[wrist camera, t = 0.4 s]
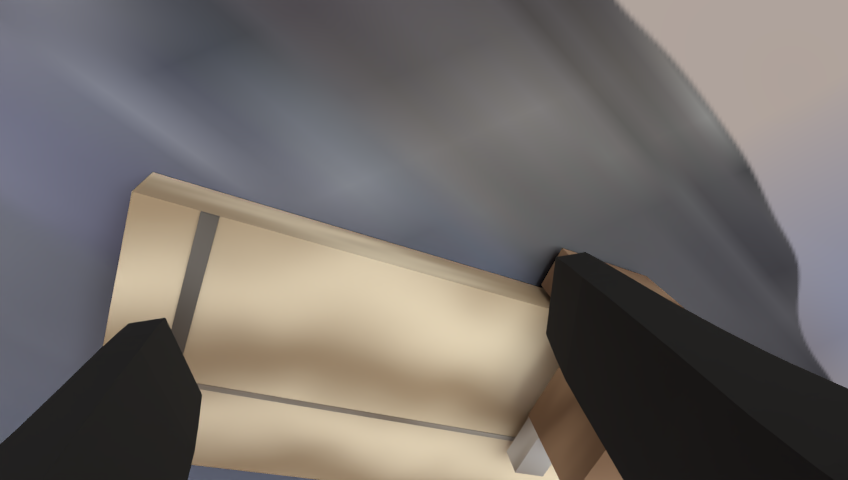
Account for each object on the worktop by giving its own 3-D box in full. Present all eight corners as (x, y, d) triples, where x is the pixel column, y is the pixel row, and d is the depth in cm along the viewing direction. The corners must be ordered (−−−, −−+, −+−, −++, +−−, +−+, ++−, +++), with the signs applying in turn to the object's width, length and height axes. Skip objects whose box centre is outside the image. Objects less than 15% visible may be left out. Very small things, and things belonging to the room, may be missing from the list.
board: (544, 476, 28) (559, 509, 27) (104, 414, 21) (81, 454, 19) (653, 321, 24) (680, 346, 22) (153, 172, 17) (130, 192, 15)
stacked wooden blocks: (544, 429, 26) (614, 565, 20) (466, 415, 24) (514, 558, 18) (646, 276, 22) (771, 382, 16) (562, 248, 21) (663, 353, 14)
